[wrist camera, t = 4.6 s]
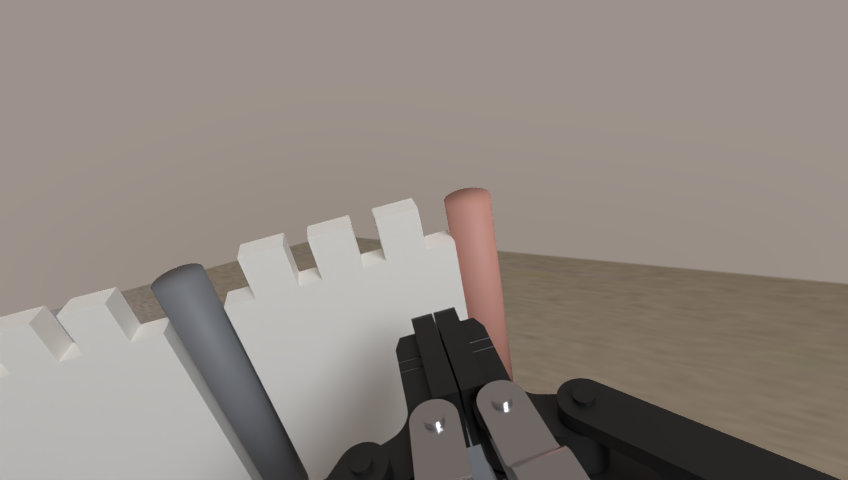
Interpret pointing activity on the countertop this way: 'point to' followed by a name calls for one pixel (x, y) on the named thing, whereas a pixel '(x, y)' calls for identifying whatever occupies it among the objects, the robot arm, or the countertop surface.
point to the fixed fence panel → (137, 392)
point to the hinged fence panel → (360, 318)
